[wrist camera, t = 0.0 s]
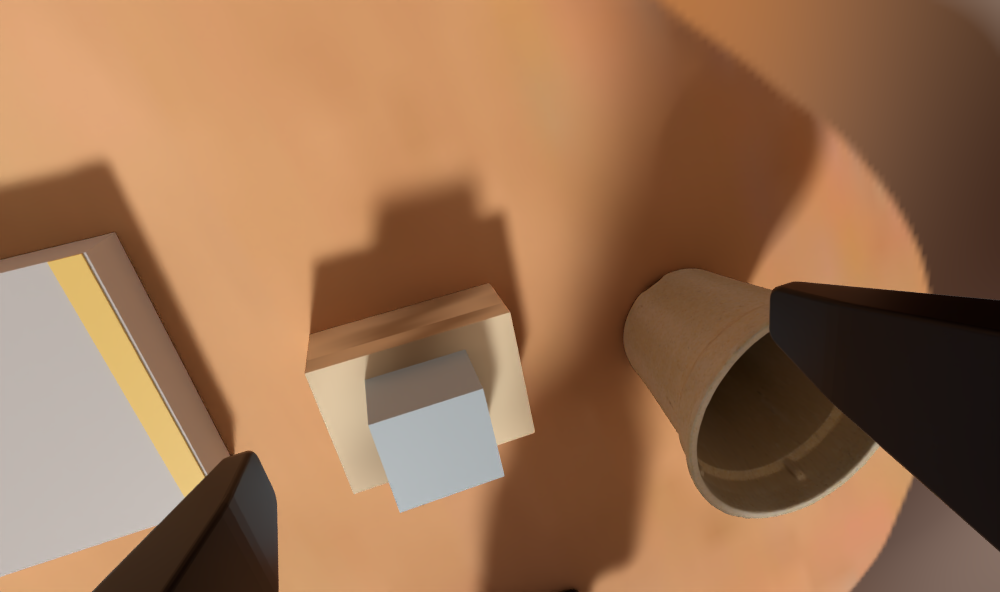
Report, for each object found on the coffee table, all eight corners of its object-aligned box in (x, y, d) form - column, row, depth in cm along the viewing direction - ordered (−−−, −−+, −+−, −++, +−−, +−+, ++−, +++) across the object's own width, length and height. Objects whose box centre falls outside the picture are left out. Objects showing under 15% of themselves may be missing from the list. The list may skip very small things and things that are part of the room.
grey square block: (465, 349, 21) (483, 388, 19) (485, 429, 23) (504, 476, 20) (364, 380, 21) (368, 425, 18) (392, 460, 22) (399, 512, 20)
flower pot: (574, 270, 25) (677, 357, 17) (751, 208, 26) (920, 262, 19) (607, 426, 29) (702, 553, 21) (759, 366, 30) (901, 464, 23)
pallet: (488, 281, 24) (510, 312, 21) (512, 391, 27) (535, 432, 24) (309, 333, 23) (304, 373, 20) (352, 442, 26) (353, 494, 22)
